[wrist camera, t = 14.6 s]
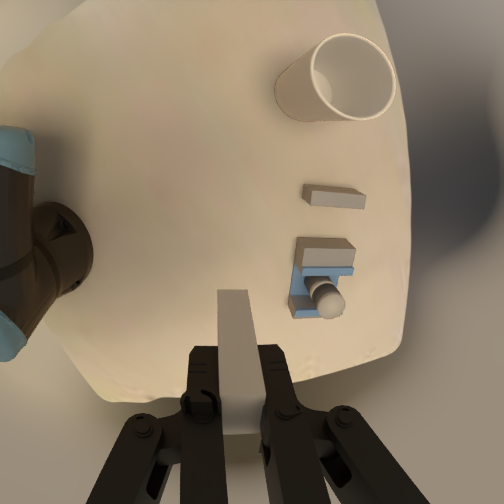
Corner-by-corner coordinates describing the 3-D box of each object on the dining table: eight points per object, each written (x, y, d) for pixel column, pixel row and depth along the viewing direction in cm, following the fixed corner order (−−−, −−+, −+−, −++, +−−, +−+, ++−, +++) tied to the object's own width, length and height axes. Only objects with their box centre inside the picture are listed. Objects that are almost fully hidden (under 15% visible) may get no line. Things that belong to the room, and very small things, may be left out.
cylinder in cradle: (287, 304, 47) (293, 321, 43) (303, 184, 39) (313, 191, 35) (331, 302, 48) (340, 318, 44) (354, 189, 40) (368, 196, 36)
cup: (342, 108, 35) (408, 104, 20) (292, 131, 36) (338, 135, 21) (315, 57, 32) (370, 24, 17) (263, 79, 32) (292, 48, 18)
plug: (302, 290, 46) (316, 319, 39) (305, 268, 44) (321, 296, 37) (325, 289, 46) (341, 318, 39) (329, 268, 45) (348, 295, 38)
